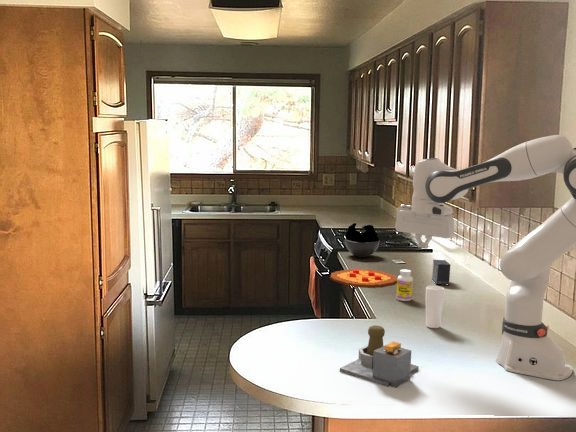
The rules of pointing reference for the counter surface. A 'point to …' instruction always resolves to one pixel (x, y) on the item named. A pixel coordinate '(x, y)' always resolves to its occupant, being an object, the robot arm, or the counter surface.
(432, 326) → the drinking glass
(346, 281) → the pizza
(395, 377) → the gray socket base
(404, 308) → the counter surface
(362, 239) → the coal bowl
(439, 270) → the small box
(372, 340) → the cork
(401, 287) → the supplement bottle
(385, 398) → the counter surface
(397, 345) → the wedge pin
